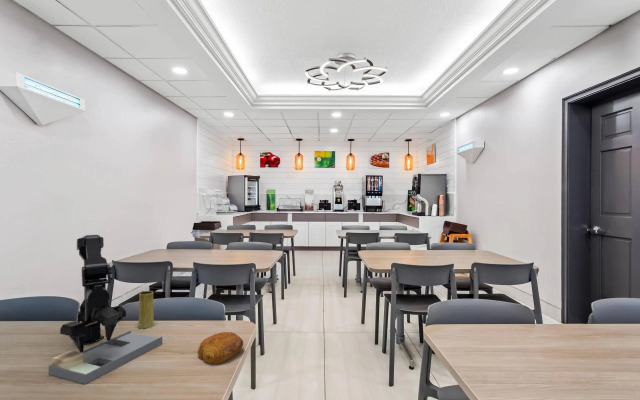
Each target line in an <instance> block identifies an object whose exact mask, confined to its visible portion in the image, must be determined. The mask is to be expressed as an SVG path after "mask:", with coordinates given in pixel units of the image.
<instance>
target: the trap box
mask: <svg viewBox="0 0 640 400" xmlns="http://www.w3.org/2000/svg"><path fill="white" fill-rule="evenodd" d="M161 345H163V336H160V337H156V336H150V335H146V334H141V333H135V332H132V330H129V331H127V332H124V333H121V334H119V335H117V336H115V337H111V339H110V340H109V341H108V340H107V339H106V340H105V341H103V342H100V343H98V344H95V345H93V346H91V347H89V348H86V349H83V352H81V353H83V363H81V364H79V365H76V366H74V367H72V368H70V369H64V368H60V367H56V366H52V364H49V365H48V375H50V376H53V377H57V378H60V379H64V380H68V381H71V382H75V383H78V384H82V385H88V384H89V383H91V382H94V381H95V380H96V379H99V378H100V377H103V376H105V375H106V374H108V373H110V372H112V371H113V370H116V369H117V368H120V367H121V366H123V365H125V364H127V363H128V362H130V361H133V360H135V359H136V358H138V357H140V356H143V355H144V354H146V353H148V352H150V351H151V350H153V349H155V348H157V347H159V346H161Z"/></svg>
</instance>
